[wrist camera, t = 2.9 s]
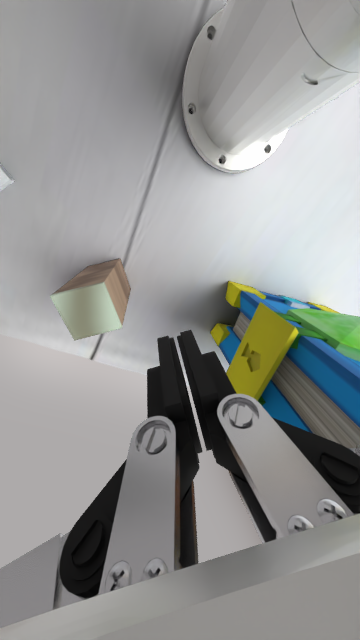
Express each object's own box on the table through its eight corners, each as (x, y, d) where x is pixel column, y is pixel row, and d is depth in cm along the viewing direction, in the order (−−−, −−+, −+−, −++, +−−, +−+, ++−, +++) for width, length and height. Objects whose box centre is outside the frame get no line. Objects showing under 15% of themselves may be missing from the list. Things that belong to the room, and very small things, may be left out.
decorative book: (228, 264, 30) (868, 620, 3) (342, 297, 36) (910, 523, 9) (198, 343, 36) (349, 708, 9) (301, 361, 41) (578, 614, 15)
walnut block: (120, 258, 27) (103, 283, 17) (130, 289, 29) (121, 328, 19) (87, 266, 27) (49, 296, 16) (100, 296, 29) (74, 340, 19)
